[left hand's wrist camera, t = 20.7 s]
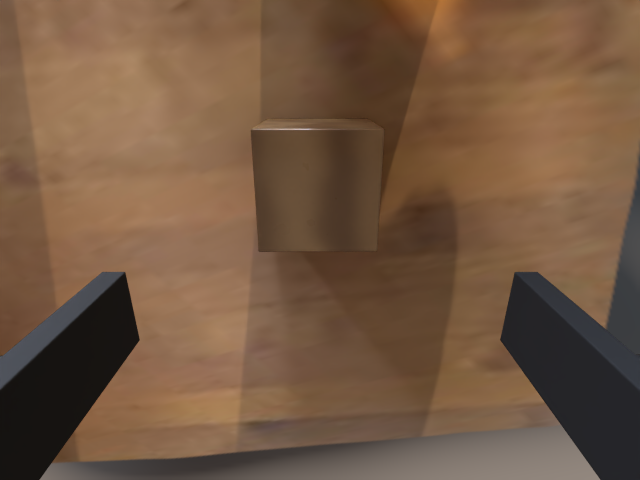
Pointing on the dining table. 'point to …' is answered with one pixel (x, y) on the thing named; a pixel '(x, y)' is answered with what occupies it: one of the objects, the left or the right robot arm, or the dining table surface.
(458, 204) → the dining table surface
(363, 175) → the brown wooden cube
